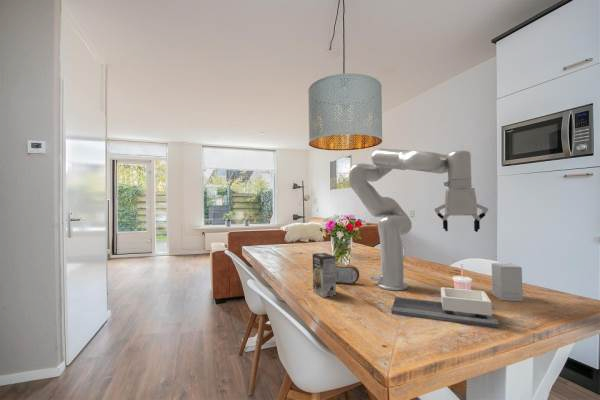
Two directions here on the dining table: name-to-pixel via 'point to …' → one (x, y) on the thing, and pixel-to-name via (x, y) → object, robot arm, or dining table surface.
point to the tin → (346, 274)
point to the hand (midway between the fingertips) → (460, 231)
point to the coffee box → (324, 274)
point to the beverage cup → (462, 281)
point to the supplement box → (507, 281)
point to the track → (438, 312)
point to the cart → (466, 301)
